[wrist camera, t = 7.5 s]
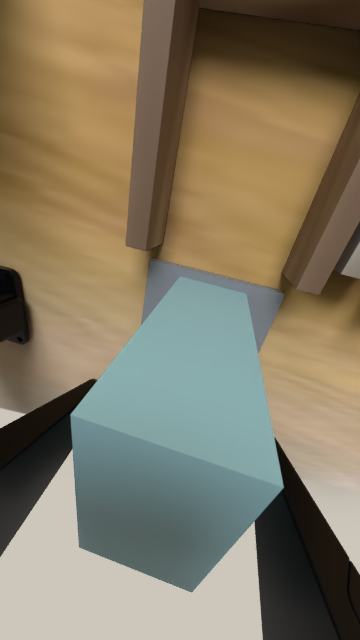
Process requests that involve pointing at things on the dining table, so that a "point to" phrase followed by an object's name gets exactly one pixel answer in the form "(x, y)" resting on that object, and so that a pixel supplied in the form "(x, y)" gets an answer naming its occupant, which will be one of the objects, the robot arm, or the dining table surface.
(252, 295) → the slate mat
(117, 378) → the light blue rectangular prism
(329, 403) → the dining table surface
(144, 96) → the walnut rack
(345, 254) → the gray notched block
